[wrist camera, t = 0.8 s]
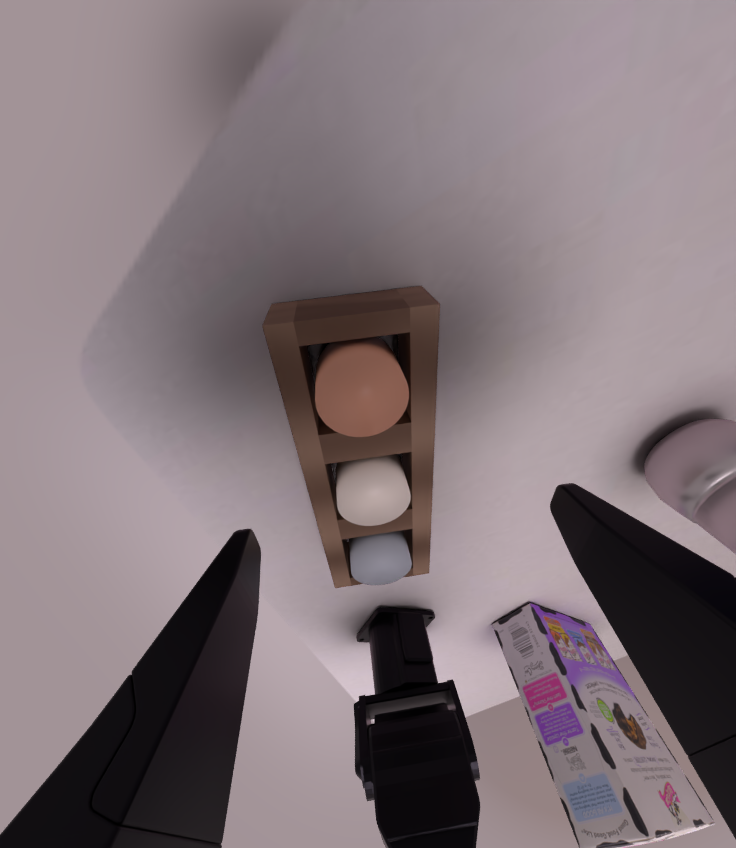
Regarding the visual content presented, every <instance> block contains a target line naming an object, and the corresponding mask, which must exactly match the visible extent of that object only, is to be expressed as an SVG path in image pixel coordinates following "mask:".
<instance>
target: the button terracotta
mask: <svg viewBox="0 0 736 848" xmlns="http://www.w3.org/2000/svg"><path fill="white" fill-rule="evenodd" d="M408 400H409V388H408V384H407V381H406V379H405V377H404V374H403V372H402V370H401V368H400V365H399V363H398V361H397V359H396V356H395V354H394V352H393V351H392V349H391V348H390V347H389V345H388V344H386V343H385V342H384V341H383V340H381V339H380V338H378V337H368V338H360V339H353V340H345V341H337V342H331V343H330V344H328V345H327V346H326V347H325V349H324V350H323V351H322V353H321V354H320V356H319V358H318V361H317V365H316V383H315V404H316V409H317V412H318V414H319V416H320V417H321V419H322V420H323V422H324V423H325V424H326V425H327V426H328V427H330V428H331V429H333V430H334V431H336V432H338V433H340V434H343V435H346V436H351V437H368V436H373V435H376V434H379V433H381V432H383V431H385V430H387V429H389V428H390V427H392V426H393V425H394V424H395V423H396V422H397V421H398V420H399V419H400V418H401V416H402V415H403V413H404V411H405V410H406V407H407V404H408Z"/></svg>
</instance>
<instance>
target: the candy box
mask: <svg viewBox="0 0 736 848" xmlns="http://www.w3.org/2000/svg"><path fill="white" fill-rule="evenodd" d="M492 626H493V629H494V631H495V634H496V636H497V638H498V641H499V644H500V646H501V648H502V651H503V654H504V656H505V659H506V661H507V664H508V666H509V669H510V671H511V674H512V676H513V679H514V681H515V684H516V686H517V689H518V692H519V694H520V697H521V699H522V702H523V704H524V707H525V709H526V712H527V714H528V717H529V720H530V722H531V725H532V727H533V729H534V732H535V735H536V738H537V740H538V743H539V745H540V748H541V750H542V753H543V756H544V758H545V761H546V763H547V766H548V768H549V771H550V774H551V776H552V779H553V781H554V783H555V786H556V789H557V792H558V794H559V796H560V799H561V802H562V804H563V807H564V809H565V812H566V814H567V816H568V819H569V822H570V825H571V827H572V830H573V832H574V835H575V837H576V840H577V843H578V845H579V848H625V847H631V846H637V845H643V844H648V843H652V842H657V841H661V840H666V839H670V838H674V837H677V836H680V835H684V834H687V833H691V832H694V831H697V830H700V829H703V828H706V827H708V826H711V825H714V824H715V822H714V820H713V819H712V817H711V816H710V814H709V813H708V811H707V809H706V808H705V806H704V804H703V803H702V801H701V799H700V798H699V796H698V795H697V793H696V791H695V790H694V788H693V787H692V785H691V783H690V782H689V780H688V779H687V777H686V776H685V774H684V772H683V771H682V769H681V768H680V766H679V765H678V763H677V761H676V760H675V758H674V756H673V755H672V754H671V752H670V750H669V749H668V747H667V746H666V744H665V742H664V741H663V739H662V738H661V736H660V734H659V733H658V731H657V730H656V728H655V726H654V725H653V723H652V722H651V720H650V719H649V717H648V715H647V714H646V712H645V711H644V709H643V707H642V706H641V704H640V703H639V701H638V699H637V698H636V696H635V695H634V693H633V692H632V690H631V688H630V687H629V685H628V684H627V682H626V680H625V679H624V677H623V676H622V674H621V672H620V671H619V669H618V668H617V666H616V665H615V663H614V661H613V660H612V658H611V656H610V655H609V653H608V652H607V650H606V648H605V647H604V645H603V644H602V642H601V640H600V639H599V637H598V636H597V634H596V632H595V631H594V629H593V628H592V626H591V625H590V624H588V623H586V622H583V621H579V620H577V619H574V618H571V617H568V616H566V615H563V614H560V613H557V612H554V611H552V610H549V609H545V608H542V607H540V606H537V605H534V604H532V603H529V604H528V605H526V606H524V607H522V608H520V609H518V610H517V611H515V612H514V613H512V614H510V615H508V616H506V617H504V618H502V619H501V620H499V621H497V622H495V623H494V624H493V625H492Z"/></svg>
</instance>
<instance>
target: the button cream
mask: <svg viewBox="0 0 736 848" xmlns="http://www.w3.org/2000/svg"><path fill="white" fill-rule="evenodd" d="M335 475H336V495H337V508H338V511H339V513H340V514H341V516H342V517H343V518H344V519H346V520H347V521H349V522H351V523H354V524H357V525H362V526H375V525H381V524H385V523H388V522H390V521H392V520H394V519H396V518H398V517H399V516H400V515H401V514H402V513H404V511H405V510H406V509H407V507H408V506H409V503H410V499H411V495H410V490H409V487H408V484H407V480H406V477H405V473H404V470H403V467H402V463H401V460H400V458H399V456H398V455H397V454H393V455H386V456H379V457H372V458H365V459H358V460H351V461H344V462H338V463H337V465H336V469H335Z"/></svg>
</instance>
